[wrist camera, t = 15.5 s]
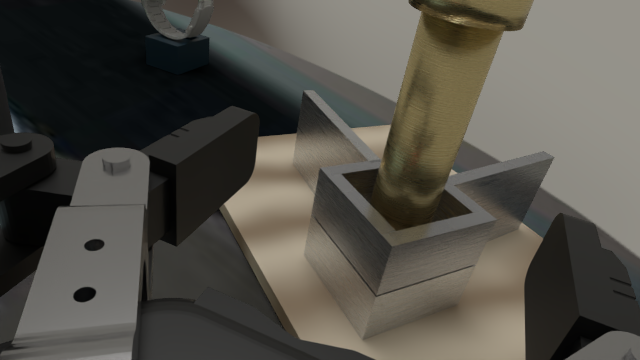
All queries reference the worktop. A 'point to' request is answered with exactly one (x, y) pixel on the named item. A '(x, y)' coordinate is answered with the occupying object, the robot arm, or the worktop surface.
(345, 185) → the hinge
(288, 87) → the worktop surface
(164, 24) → the watch
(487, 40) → the hinge pin
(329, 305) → the board
